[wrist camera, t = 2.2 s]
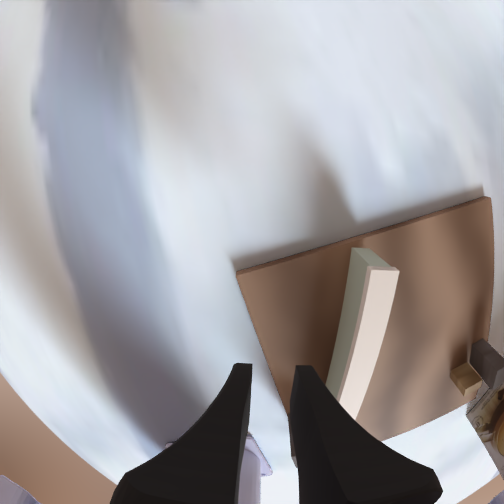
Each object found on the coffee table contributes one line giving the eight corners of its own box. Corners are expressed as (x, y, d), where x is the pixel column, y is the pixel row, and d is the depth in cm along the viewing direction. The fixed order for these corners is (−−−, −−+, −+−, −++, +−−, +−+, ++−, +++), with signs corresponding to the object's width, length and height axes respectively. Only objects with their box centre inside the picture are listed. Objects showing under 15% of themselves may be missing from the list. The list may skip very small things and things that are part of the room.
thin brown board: (305, 456, 25) (310, 498, 20) (236, 271, 19) (227, 311, 14) (472, 393, 23) (494, 424, 17) (484, 196, 17) (533, 208, 12)
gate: (331, 419, 22) (339, 456, 18) (313, 420, 22) (319, 458, 18) (371, 248, 17) (399, 270, 13) (348, 246, 17) (371, 269, 13)
